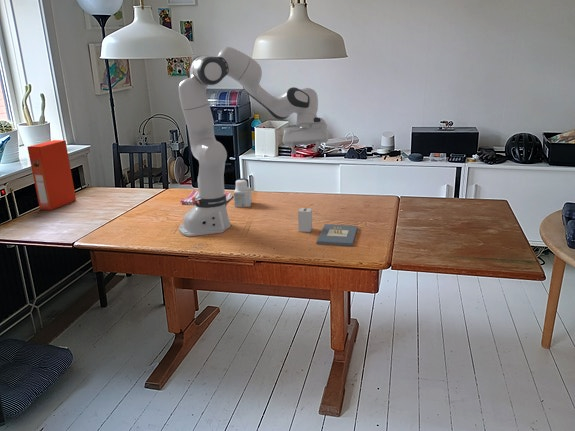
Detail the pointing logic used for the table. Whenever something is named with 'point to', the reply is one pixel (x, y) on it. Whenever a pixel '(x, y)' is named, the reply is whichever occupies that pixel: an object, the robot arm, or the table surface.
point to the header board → (337, 235)
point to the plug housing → (305, 219)
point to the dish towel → (195, 194)
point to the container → (242, 193)
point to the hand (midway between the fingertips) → (304, 152)
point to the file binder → (52, 174)
